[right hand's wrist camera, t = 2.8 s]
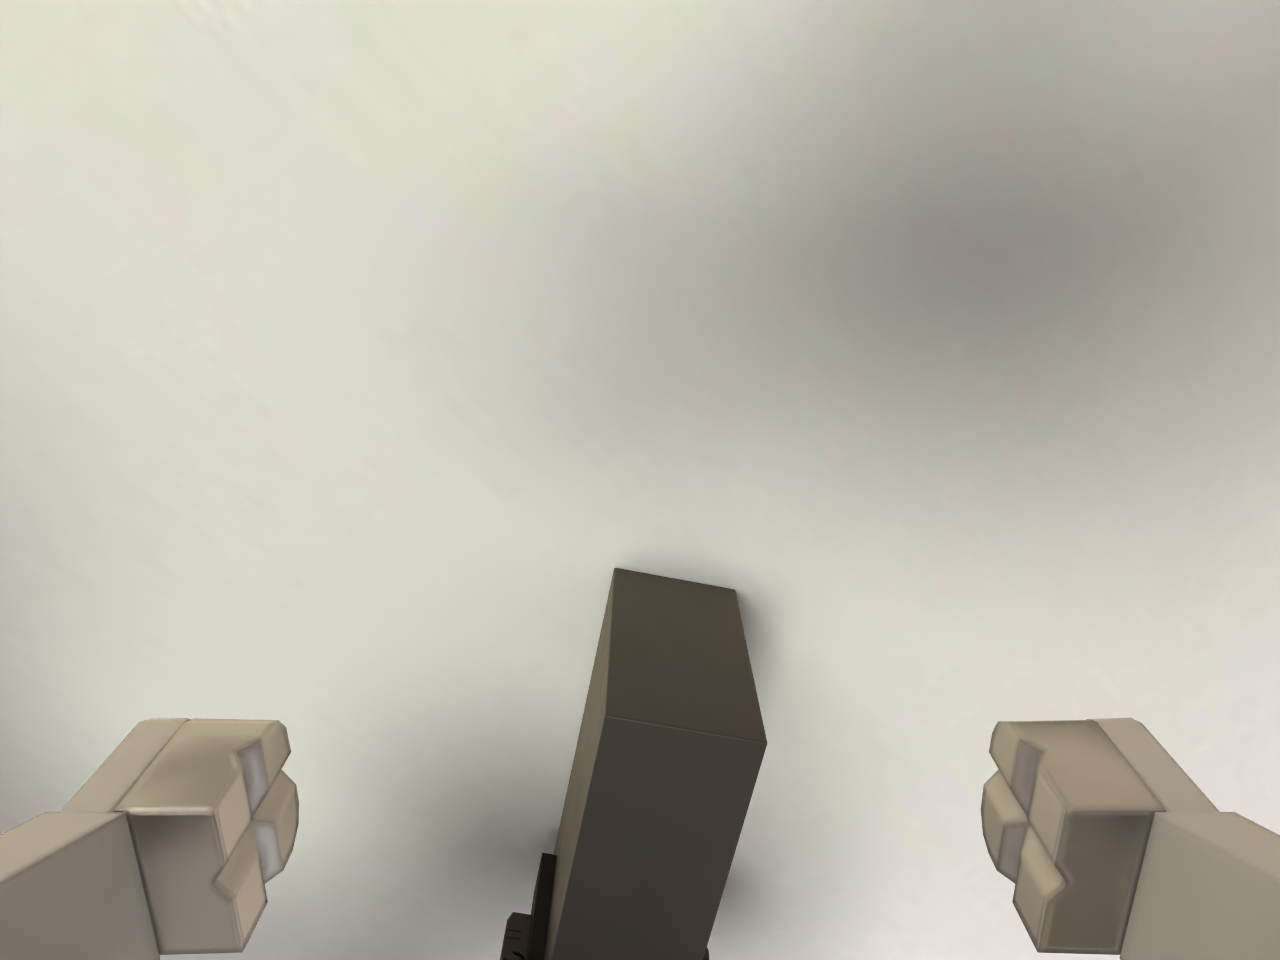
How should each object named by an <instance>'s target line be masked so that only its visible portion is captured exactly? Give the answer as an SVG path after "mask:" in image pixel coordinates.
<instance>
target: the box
mask: <svg viewBox="0 0 1280 960" xmlns="http://www.w3.org/2000/svg"><path fill="white" fill-rule="evenodd" d="M766 746H767V740H766V735H765V730H764V726H763V721H762V716H761V712H760V707H759V702H758V697H757V693H756V688H755V683H754V678H753V674H752V669H751V664H750V659H749V655H748V650H747V645H746V640H745V636H744V631H743V626H742V622H741V617H740V612H739V607H738V603H737V598H736V593H735V590H732V589H726V588H721V587H715V586H710V585H704V584H699V583H693V582H688V581H682V580H677V579H671V578H666V577H660V576H655V575H649V574H644V573H638V572H633V571H627V570H622V569H616V568H615V569H614V572H613V577H612V582H611V587H610V591H609V596H608V601H607V605H606V610H605V615H604V620H603V624H602V629H601V634H600V639H599V643H598V648H597V653H596V658H595V662H594V667H593V672H592V676H591V681H590V686H589V691H588V695H587V700H586V705H585V710H584V714H583V719H582V724H581V728H580V733H579V738H578V743H577V747H576V752H575V757H574V762H573V766H572V771H571V776H570V780H569V785H568V790H567V795H566V799H565V804H564V809H563V814H562V818H561V823H560V828H559V832H558V837H557V842H556V847H555V851H554V855H557V856H556V864H555V873H554V881H553V889H552V898H551V906H550V915H549V923H548V931H547V940H546V948H545V956H544V960H703V957H704V954H705V951H706V947H707V944H708V941H709V937H710V934H711V930H712V927H713V924H714V920H715V917H716V914H717V910H718V907H719V904H720V900H721V897H722V894H723V890H724V887H725V883H726V880H727V877H728V873H729V870H730V867H731V863H732V860H733V857H734V853H735V850H736V846H737V843H738V840H739V836H740V833H741V830H742V826H743V823H744V820H745V816H746V813H747V809H748V806H749V803H750V799H751V796H752V793H753V789H754V786H755V783H756V779H757V776H758V773H759V769H760V766H761V762H762V759H763V756H764V752H765V749H766Z"/></svg>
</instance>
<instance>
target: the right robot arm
mask: <svg viewBox="0 0 1280 960" xmlns="http://www.w3.org/2000/svg"><path fill="white" fill-rule="evenodd" d="M290 753H291V750H290V745H289V740H288V735H287V730H286V727H285V726H284V725H283V724H282V723H281V722H280V721H278V720H237V719H192V720H191V719H188V718H158V719H148V720H145V721H142V722H139V723H138V724H137V725H136V726H135V727H134V728H133V730H132V731H131V732H130V733H129V734H128V735H127V736H126V738H125V739H124V740H123V741H122V742H121V743H120V744H119V746H118V747H117V748H116V749H115V750H114V751H113V752H112V753H111V755H110V756H109V757H108V758H107V759H106V760H105V761H104V763H103V764H102V765H101V766H100V767H99V768H98V769H97V771H96V772H95V773H94V774H93V775H92V776H91V777H90V778H89V780H88V781H87V782H86V783H85V784H84V785H83V786H82V788H81V789H80V790H79V791H78V792H77V793H76V794H75V796H74V797H73V798H72V799H71V800H70V801H69V802H68V803H67V805H66V806H65V807H64V808H63V809H62V810H61V811H60V812H45V813H43V814H41V815H39V816H37V817H35V818H33V819H31V820H29V821H27V822H25V823H23V824H21V825H20V826H18V827H16V828H14V829H12V830H10V831H8V832H6V833H4V834H2V835H0V960H160V955H168V954H202V953H236V952H243V950H244V948H245V946H246V944H247V942H248V940H249V938H250V936H251V934H252V932H253V930H254V928H255V926H256V924H257V922H258V920H259V918H260V916H261V914H262V912H263V910H264V908H265V906H266V904H267V896H266V890H265V883H266V882H268V881H269V880H270V879H272V878H273V877H275V876H276V875H277V874H279V873H280V872H282V871H283V870H284V867H285V865H286V863H287V861H288V859H289V857H290V855H291V852H292V850H293V846H294V841H295V837H296V832H297V828H298V818H299V801H298V794H297V787H296V784H295V783H294V782H293V781H292V780H291V779H290V778H289V777H288V776H287V775H286V774H285V773H284V772H283V771H282V770H281V769H282V767H283V765H284V763H285V762H286V760H287V758H288V756H289V755H290ZM989 753H990V755H991V756H992V758H993V760H994V762H995V763H996V765H997V767H998V769H999V770H998V771H997V772H996V773H995V774H994V775H993V776H992V777H991V778H990V779H989V780H988V781H987V782H986V783H985V784H984V788H983V796H982V804H981V816H982V827H983V835H984V839H985V842H986V846H987V849H988V853H989V855H990V857H991V859H992V861H993V863H994V865H995V867H996V870H997V871H998V872H1000V873H1001V874H1003V875H1004V876H1005V877H1007V878H1008V879H1010V880H1011V881H1012V882H1014V883H1015V884H1016V885H1015V890H1014V896H1013V904H1014V906H1015V908H1016V910H1017V912H1018V914H1019V916H1020V918H1021V920H1022V922H1023V924H1024V926H1025V928H1026V930H1027V932H1028V934H1029V936H1030V938H1031V940H1032V942H1033V944H1034V946H1035V948H1036V950H1037V952H1041V953H1077V954H1112V955H1120V959H1121V960H1280V835H1278V834H1276V833H1274V832H1272V831H1270V830H1268V829H1266V828H1264V827H1262V826H1260V825H1258V824H1257V823H1255V822H1253V821H1251V820H1249V819H1247V818H1245V817H1243V816H1241V815H1239V814H1237V813H1235V812H1220V811H1219V810H1218V809H1217V808H1216V807H1215V806H1214V805H1213V804H1212V802H1211V801H1210V800H1209V799H1208V798H1207V797H1206V796H1205V794H1204V793H1203V792H1202V791H1201V790H1200V789H1199V788H1198V786H1197V785H1196V784H1195V783H1194V782H1193V781H1192V780H1191V779H1190V777H1189V776H1188V775H1187V774H1186V773H1185V772H1184V771H1183V769H1182V768H1181V767H1180V766H1179V765H1178V764H1177V763H1176V761H1175V760H1174V759H1173V758H1172V757H1171V756H1170V755H1169V754H1168V752H1167V751H1166V750H1165V749H1164V748H1163V747H1162V746H1161V744H1160V743H1159V742H1158V741H1157V740H1156V739H1155V738H1154V736H1153V735H1152V734H1151V733H1150V732H1149V731H1148V730H1147V728H1146V727H1145V726H1144V725H1143V724H1142V723H1140V722H1138V721H1136V720H1134V719H1132V718H1110V719H1087V720H1072V721H998V723H997V725H996V727H995V729H994V731H993V733H992V738H991V744H990V749H989Z"/></svg>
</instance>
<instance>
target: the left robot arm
mask: <svg viewBox="0 0 1280 960" xmlns="http://www.w3.org/2000/svg"><path fill="white" fill-rule="evenodd" d="M556 856H557V855H552V854H546V853H542V857H541V862H540V866H539V871H538V876H537V881H536V886H535V891H534V897H533V903H532V910H531V915H528V914H521V913H515V912H513V913H512V914H511V916H510V917H509V919H508V920H507V925H506V930H505V935H504V940H503V946H502V952H501V957H500V960H544V956H545V948H546V940H547V931H548V923H549V915H550V906H551V898H552V889H553V881H554V873H555V864H556ZM703 960H709V951H708V949H707V947H706V951H705V954H704V957H703Z"/></svg>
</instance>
